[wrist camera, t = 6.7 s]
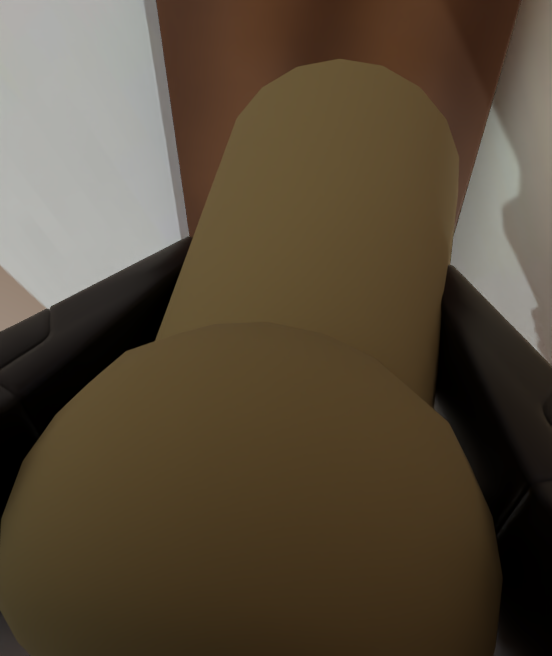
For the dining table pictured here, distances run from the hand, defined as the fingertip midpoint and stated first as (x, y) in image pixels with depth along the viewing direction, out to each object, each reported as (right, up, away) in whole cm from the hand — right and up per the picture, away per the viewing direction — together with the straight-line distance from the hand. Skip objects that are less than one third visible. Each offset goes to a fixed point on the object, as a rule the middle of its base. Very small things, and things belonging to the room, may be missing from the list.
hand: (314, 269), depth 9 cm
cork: (+1, +3, +3) cm, 4 cm away
